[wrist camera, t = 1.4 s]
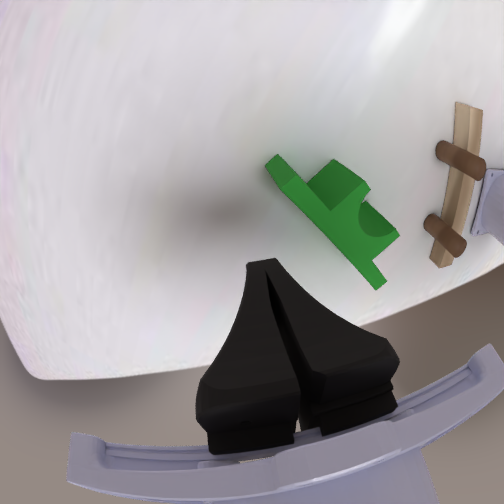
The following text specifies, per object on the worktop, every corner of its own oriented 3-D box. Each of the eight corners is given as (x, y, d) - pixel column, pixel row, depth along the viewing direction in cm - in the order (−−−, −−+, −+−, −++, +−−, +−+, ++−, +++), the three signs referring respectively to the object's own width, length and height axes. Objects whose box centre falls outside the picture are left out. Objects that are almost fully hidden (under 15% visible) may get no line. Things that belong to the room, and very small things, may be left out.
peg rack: (468, 105, 15) (506, 118, 11) (441, 254, 24) (466, 280, 20) (438, 98, 14) (479, 109, 11) (414, 262, 24) (438, 291, 20)
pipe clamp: (383, 227, 21) (413, 259, 17) (351, 255, 22) (375, 291, 19) (305, 125, 16) (335, 140, 12) (263, 164, 17) (280, 190, 13)
